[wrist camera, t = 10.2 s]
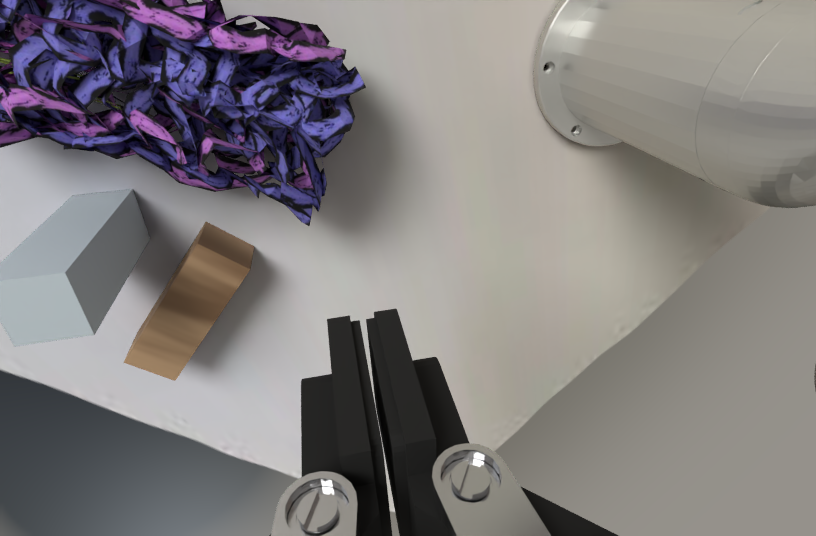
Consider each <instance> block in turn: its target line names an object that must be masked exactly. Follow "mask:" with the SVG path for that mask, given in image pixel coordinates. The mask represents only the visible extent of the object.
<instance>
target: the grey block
mask: <svg viewBox="0 0 816 536" xmlns="http://www.w3.org/2000/svg"><path fill="white" fill-rule="evenodd" d="M149 240H150V237H149V234H148V231H147V228H146V225H145V223H144V220H143V217H142V214H141V211H140V208H139V206H138V203H137V200H136V197H135V194H134V191H133V189H129V190H119V191H110V192H101V193H92V194H82V195H73V196H71V197H70V198H69V199H68V200H67V201H66V202H65V203H64V204H63V205H62V206H61V207H60V208H59V209H58V210H56V211H55V212H54V213H53V214H52V215H51V216H50V217H49V218H48V219H47V220H46V221H45V222H44V223H43V224H41V225H40V226H39V227H38V228H37V229H36V230H35V231H34V232H33V233H32V234H31V235H30V236H29V237H28V238H26V239H25V240H24V241H23V242H22V243H21V244H20V245H19V246H18V247H17V248H16V249H15V250H14V251H13V252H11V253H10V254H9V255H8V256H7V257H6V258H5V259H4V260H3V261H2V262H1V263H0V323H1V324H2V326H3V328H4V329H5V331H6V333H7V335H8V336H9V338H10V340H11V341H12V343H13V345H14V347H16V346H22V345H29V344H36V343H43V342H50V341H57V340H63V339H70V338H77V337H84V336H91V335H95V333H96V331H97V329H98V328H99V326H100V324H101V323H102V321H103V319H104V317H105V316H106V314H107V312H108V311H109V309H110V307H111V305H112V304H113V302H114V300H115V299H116V297H117V295H118V293H119V292H120V290H121V288H122V287H123V285H124V283H125V281H126V280H127V278H128V276H129V274H130V273H131V271H132V269H133V268H134V266H135V264H136V262H137V261H138V259H139V257H140V256H141V254H142V252H143V250H144V249H145V247H146V245H147V244H148V242H149Z"/></svg>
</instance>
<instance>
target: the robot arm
mask: <svg viewBox="0 0 816 536" xmlns="http://www.w3.org/2000/svg"><path fill="white" fill-rule="evenodd" d="M545 64H547V67H546V69H545V70H543V68H544V65H545ZM533 74H534V89H535V93H536V98H537V102H538V105H539V107H540V109H541V111H542V113H543V115H544V117H545V118H546V120H547V121H548V122H549V124H550V125H551V126H552V127H553V128H554V129H555V130H556V131H558V132H559V133H560V134H561V135H563V136H564V137H566V138H568V139H570V140H572V141H574V142H577V143H580V144H583V145H587V146H597V147H600V146H609V145H614V144H618V143H621V142H625V143H627V144H629V145H631V146H633V147H635V148H637V149H639V150H642V151H644V152H646V153H648V154H650V155H652V156H654V157H656V158H658V159H660V160H662V161H664V162H666V163H669V164H671V165H673V166H675V167H677V168H679V169H681V170H683V171H685V172H687V173H689V174H691V175H693V176H696V177H698V178H700V179H702V180H704V181H706V182H708V183H710V184H712V185H714V186H716V187H718V188H720V189H723V190H725V191H728V192H730V193H732V194H734V195H736V196H738V197H741V198H743V199H745V200H748V201H751V202H754V203H757V204H761V205H765V206H770V207H782V208H798V207H807V206H815V205H816V0H561V1H560V2H559V3H558V5H557V6H556V8H555V9H554V11H553V12H552V14H551V16H550V17H549V19H548V21H547V23H546V25H545V27H544V30H543V32H542V34H541V36H540V40H539V43H538V47H537V50H536V54H535V62H534V71H533ZM573 127H574V128H573ZM572 128H573V130H572ZM366 322H367V331H368V340H369V349H370V358H371V367H372V375H373V384H374V393H375V402H376V408H375V403H374V397H373V392H372V387H371V381H370V376H369V370H368V365H367V359H366V354H365V348H364V343H363V337H362V332H361V326H360V321H359V320H358V321H352V322H351V321H350V316H345V317H338V318H331V319H327V323H328V335H329V346H330V358H331V369H332V374H330V375H324V376H318V377H312V378H306V379H302V381H301V429H302V477H301V478H299V479H297V480H296V481H295V482H294V483H293V484H291V485H290V486H289V487H288V488H287V489H286V491H285V492H284V493H283V495H282V496H281V498H280V500H279V503H278V506H277V508H276V513H275V518H274V523H273V528H272V533H271V535H270V536H392V530H391V520H390V511H389V501H388V492H387V483H386V474H385V465H384V456H383V449H382V442H383V447H384V453H385V458H386V464H387V469H388V474H389V480H390V485H391V491H392V496H393V501H394V507H395V512H396V518H397V523H398V529H399V534H400V536H618V535H616V534H614V533H612V532H610V531H608V530H606V529H604V528H602V527H600V526H598V525H596V524H594V523H592V522H590V521H588V520H586V519H584V518H582V517H580V516H578V515H576V514H574V513H572V512H570V511H568V510H566V509H564V508H562V507H560V506H558V505H556V504H554V503H552V502H550V501H548V500H546V499H544V498H542V497H540V496H538V495H536V494H534V493H532V492H530V491H528V490H526V489H524V488H522V487H520V485H519V484H518V482H517V481H516V479H515V477H514V476H513V474H512V473H511V471H510V469H509V468H508V466H507V465H506V463H505V462H504V461H503V459H502V458H501V457H500V456H499V455H498V454H497V453H495V452H494V451H492V450H491V449H489V448H487V447H484V446H482V445H479V444H470V443H469V441H468V438H467V436H466V433H465V430H464V428H463V425H462V422H461V420H460V417H459V414H458V411H457V409H456V406H455V403H454V401H453V398H452V395H451V393H450V390H449V387H448V385H447V382H446V379H445V377H444V374H443V371H442V369H441V366H440V363H439V361H438V359H437V358H436V357H431V358H426V359H420V360H414V361H412V358H411V354H410V351H409V348H408V344H407V341H406V338H405V335H404V331H403V328H402V325H401V321H400V318H399V315H398V312H397V309H391V310H384V311H378V312H374V318H371V319H366ZM815 390H816V367H815ZM376 409H377V414H376ZM377 415H378V419H377ZM378 420H379V425H378ZM379 426H380V430H379ZM380 431H381V436H380ZM381 437H382V442H381Z"/></svg>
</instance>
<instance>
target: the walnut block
mask: <svg viewBox="0 0 816 536" xmlns="http://www.w3.org/2000/svg"><path fill="white" fill-rule="evenodd" d="M253 250H254V246H252V245H250V244H249V243H247V242H245V241H243V240H241V239H239V238H237V237H235V236H233V235H231V234H229V233H227V232H225V231H223V230H221V229H219V228H218V227H216V226H214V225H212V224H210V223H208V222H205V224H204V226H203V227H202V229H201V231H200V232H199V234H198V235H197V237H196V239H195V240H194V242H193V243H192V245H191V247H190V248H189V250H188V252H187V253H186V255H185V256H184V258H183V260H182V261H181V263H180V265H179V266H178V268H177V269H176V271H175V273H174V274H173V276H172V277H171V279H170V281H169V282H168V284H167V286H166V287H165V289H164V290H163V292H162V294H161V295H160V297H159V299H158V300H157V302H156V303H155V305H154V307H153V308H152V310H151V312H150V313H149V315H148V316H147V318H146V320H145V321H144V323H143V324H142V326H141V328H140V329H139V331H138V333H137V335H136V337H135V339H134V341H133V343H132V346H131V348H130V350H129V352H128V354H127V356H126V359H125V361H124V363H127V364H129V365H132V366H135V367H138V368H141V369H143V370H146V371H149V372H152V373H155V374H157V375H160V376H163V377H166V378H169V379H171V380H174V381H175V380H176V379H177V377H178V376H179V374H180V373H181V371H182V370H183V368H184V367H185V365H186V364H187V362H188V361H189V359H190V358H191V356H192V355H193V354H194V352H195V351H196V349H197V348H198V346H199V345H200V343H201V342H202V340H203V339H204V337H205V336H206V334H207V333H208V331H209V330H210V328H211V327H212V325H213V324H214V322H215V321H216V320H217V318H218V317H219V315H220V314H221V312H222V311H223V309H224V308H225V306H226V305H227V303H228V302H229V300H230V299H231V297H232V296H233V294H234V293H235V291H236V290H237V288H238V287H239V286H240V284H241V283H242V281H243V280H244V278H245V277H246V275H247V274H248V272H249V271H250V269H251V262H252V256H253Z"/></svg>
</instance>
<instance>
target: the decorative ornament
mask: <svg viewBox="0 0 816 536" xmlns="http://www.w3.org/2000/svg"><path fill="white" fill-rule="evenodd" d="M202 1H203V2H198V3H192V4H189V3H188V2H187V0H0V49H1V48H2V49H5V50H6V51H1V50H0V52H6V53H9V55H10V59H11V60H8V59H4V58H0V59H1V60H0V62H1V63H5V64H7V65H6V66H4V67H2V66H0V148H1V147H4V146H8V145H11V144H15V143H18V142H21V141H25V140H28V139H32V138H35V137H43V138H49V139H51V140H53V141H55V142H57V143H59V144H62V145H64V149H79V150H87V151H94V150H95V151H98V152H100V153H103V154H105V155H108V156H110V157H113V158H115V159H119V158H123V157H127V156H130V155H134V154H138V155H139V156H140V157H142V158H144V159H145V160H147V161H149V162H150V163H152V164H154V165H156V166H157V167H159V168H161V169H163V170H164V171H165V172H167V173H168V174H169V175H170V176H171V177H173V178H174V179H175V180H176V181H177V182H179V183H181V184H185V185H189V186H194V187H198V188H202V189H206V190H210V191H214V192H216V191H223V190H229V189H235V188H241V187H247V186H248V187H249V188H250V189H251V191H252V192H253V193H254V194H255V195H256V196H257V197H258V198H259V193H260V191H261V192H262V193H264V194H265V195H267V196H268V197H270V198H272V199H274V200H276V201H278V202H280V203H283V204H285V205H286V206H287V207H288V208H289V209H290V210H291V211H292V212H293V213H294V215H295V216H296V217H297V218H298V219H299V220H300V221H301V222H303V223H305V224H306V225H308V226H309V225H310V221H311V214H312V206H313V205H314V207H315V208H316V210H317V211H319V209H320V203H321V197H322V196H324V195H325V190H326V185H327V183H326V178H325V173H324V168H323V169H322V171H321V172H320V171H319V168H318V166H317V163H316V161H315V159H314V157H321V158H322V157H325V156H326V155H328V154H329V153H330V152H331V151H332V150H333V149H334V148H335V147H336V146H337V145H338V144H339V143H340V142H341V140H342V138H343V136H344V134H345V132H347V131H350V129H351V126H352V123H353V120H354V117H355V115H354V113H353V110H352V107H351V104H350V102H349V97H350V95H351V94H353V93H355V92H357V91H359V90H361V89H364V88H366V86H365V85H364V83H363V81H362V79H361V77H360V75H359V73H358V71H357V69H356V67H354V68H352V69H351V70H349V71H348V70H347V68H346V67H345V65H344V64H343V63H342V62H343V60H344V59H345V54H346V50H345V49H340V48H335V47H330V46H327V45H328V43H329V42H330V41H329V40H328V39H327V37H326V36H325V35H324V33H323V32H322V31H321V29H320V28H319V27H318V25H313V24H305V23H299V22H297V21H292V20H287V19H283V18H278V17H267V16H253V15H239V16H236V17H234V18H231V19H229V20H227V21H226V17H225V14H224V11H223V8H222V4H221V1H220V0H213V1H210V0H202ZM247 16H252V17H254V18H255V19H257V20H258V21H260V22H261V23H263V24H264V25H266V26H267V27H269V28H270V29H269V30H268V29H265V28H263V29H257V30H254V29H255V28H256V27H257V25H256V22H252V23H248V24H243V25H236V20H239V19H242V18H245V17H247ZM104 20H112V22H107V21H104ZM5 30H10V32H9V31H5ZM4 60H5V61H4ZM7 61H9V62H7ZM9 65H10V66H9ZM7 66H9V67H7ZM95 66H97V68H94V69H92V70H90V68H92V67H95ZM11 67H13V68H11ZM81 71H86V72H89V73H88V74H86V75H81V76H82V77H80V78H78V77H77V76H80V75H79V74H78V73H79V72H81ZM137 83H144V85H145V86H143V87H141V88H140V89H138V90H136V91H134V92H132V93H130V94H129V95H127V97H126V100H125V103H124V102H123V103H124V106H121V105H118V106H121V107H117V106H116V105H117V104H116V103H115V100H114V98H116V97H114V96H113V93H112V92H113V91H115V90H114V89H118V88H121V89H122V90H127V89H133V88H135V87H136V86H137ZM53 90H54V91H53ZM59 90H60V91H59ZM117 92H119V91H117ZM122 93H124V92H122ZM127 94H128V93H127ZM95 99H99V100H102V101H103V102H101V101H98V100H95ZM116 99H117V98H116ZM328 99H330V101H331V104H330V106H328ZM107 100H108V101H109V102H108V101H107ZM118 100H119V99H118ZM93 101H95V102H96V101H97V102H100V103H103V104H104V105H105V106H107V107H109V108H111V109H110V110H106V111H102V112H99V113H95V114H93V113H92V112H90V111H89V110H87V107H88V106H89V105H90V104H91V103H92V102H93ZM120 101H121V100H120ZM121 102H122V101H121ZM100 103H99V104H100ZM109 103H110V104H111V105H110V104H109ZM103 104H102V105H103ZM152 105H153V107H154V109H155V111H156V112H157V114H156V115H155V116H154V117H153V118H152V117H150V116H149V111H150V109H151V107H152ZM330 107H331V115H330V116H329V117H328V108H330ZM117 108H118V109H119V110H117ZM199 108H200V109H199ZM89 114H90V115H89ZM151 116H152V115H151ZM7 120H8V121H10V122H8V121H7ZM175 126H176V127H177V129H176V130H178V131H179V133H180V134H181V136H182V138H183V140H184V141H182V142H176V141H175V139H174V138H173V137H172V136H171V135H170V134H169V133H168V131H169V130H170V129H171V128H172V127H175ZM213 126H214V127H217V128H219V129H221V130H224V131H225V132H226V140H227V141H224V140H221V139H220V138H219V137H218V136H217V135H216V134H215V133H214V132H213V131H212V128H211V127H213ZM176 130H174V131H176ZM288 130H289V131H290V132H288ZM174 131H172V132H174ZM170 133H171V132H170ZM318 140H319V141H320V142H319V141H318ZM287 143H290V144H291V145H292V146H293V148H291V149H290V150H289V149H288V144H287ZM265 146H267V147H268V149H269V150H270V151H271V153H272V154H273V155H274V157H275V162H268V164H269V167H270V168H267V167H266V166H265V160H264V147H265ZM210 153H214V155H215V158H216V161H217V164H218V169H217V171H216V174H215V173H214V172H212V171H210V170H208V169H207V168H206V166H205V164H204V161H205V160H206V158H207V157H208V155H209V154H210ZM242 155H243V156H245V157H246V158H247V161H248V162H249V163H250V164H248V163H244V162H241V161H238V160H234V159H231V158H237V157H240V156H242ZM225 156H227V157H225ZM228 157H231V158H228ZM322 163H323V162H322ZM299 167H301V168H302V169H303V171H304V172H303V173H301V174H297V173H296V172H295V171H294V170H295V169H297V168H299ZM255 172H257V173H258V175H253V176H247V175H245V174H254V173H255ZM234 173H244V176H243V177H240V176H238V175H236V174H234ZM271 178H275V179H276V180H278V181H280V182H281V186H279V185H278V184H276V183H266V184H267V185H266V184H263V183H264V182H266V181H268V180H270V179H271ZM287 183H289V184H290V185H292V186H293V187H295V188H296V189H295V188H293V187H291V186H289V185H287Z"/></svg>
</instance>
